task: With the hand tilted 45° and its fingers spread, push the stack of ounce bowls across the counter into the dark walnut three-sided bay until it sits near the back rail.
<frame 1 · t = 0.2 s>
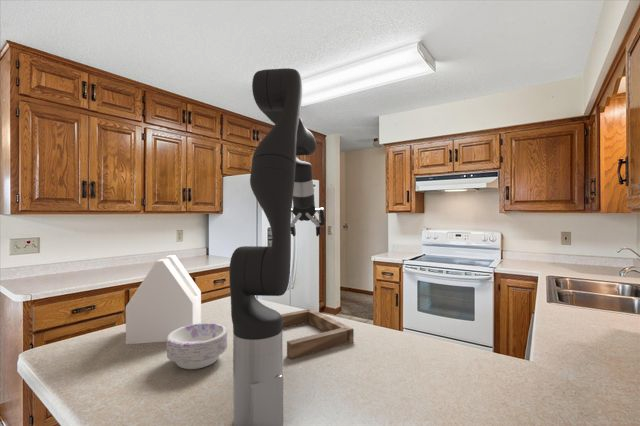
hand: (306, 235, 119), 31 cm above the countertop, tool tilted 20°, fingers open, 8 cm apart
walnut bay: (299, 337, 104), on the countertop
paper bowls: (198, 362, 88), on the countertop
white house shaped block: (166, 333, 109), on the countertop
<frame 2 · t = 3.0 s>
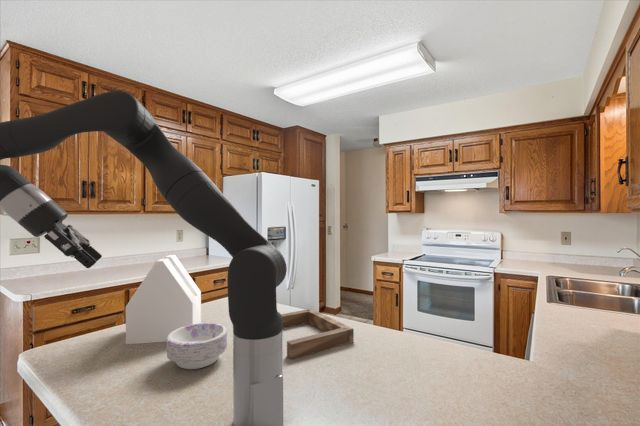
hand: (95, 262, 75), 28 cm above the countertop, tool tilted 40°, fingers open, 8 cm apart
nothing on the countertop moved.
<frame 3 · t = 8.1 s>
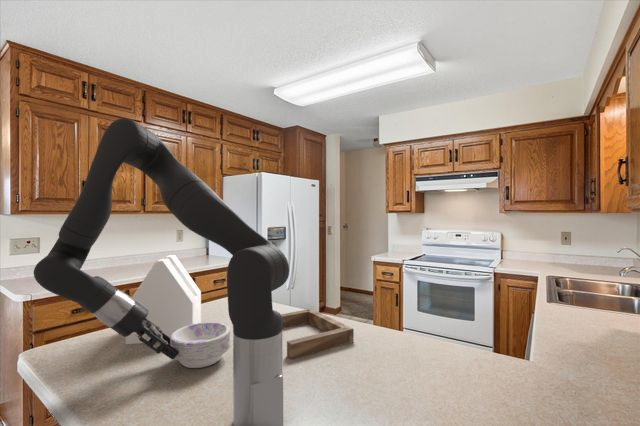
hand: (173, 349, 84), 5 cm above the countertop, tool tilted 45°
paper bowls: (201, 361, 88), on the countertop, touching gripper
everything else where it was.
when the fingers open (4 cm above the countertop, at t = 9.5 s): paper bowls moves 1 cm, on the countertop.
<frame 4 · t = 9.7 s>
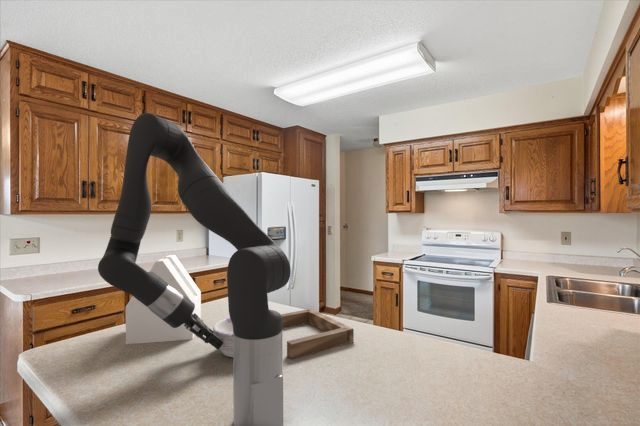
hand: (216, 340, 90), 4 cm above the countertop, tool tilted 45°, fingers open, 8 cm apart
paper bowls: (240, 351, 94), on the countertop, touching gripper
everything else where it was.
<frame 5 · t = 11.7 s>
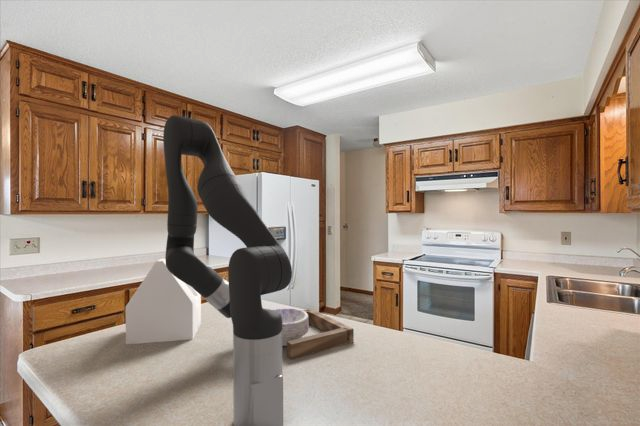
hand: (262, 330, 98), 5 cm above the countertop, tool tilted 45°
paper bowls: (284, 341, 102), on the countertop, touching gripper
everything else where it was.
when the fingers open (5 cm above the countertop, at t = 13.1 s): paper bowls stays where it is, on the countertop.
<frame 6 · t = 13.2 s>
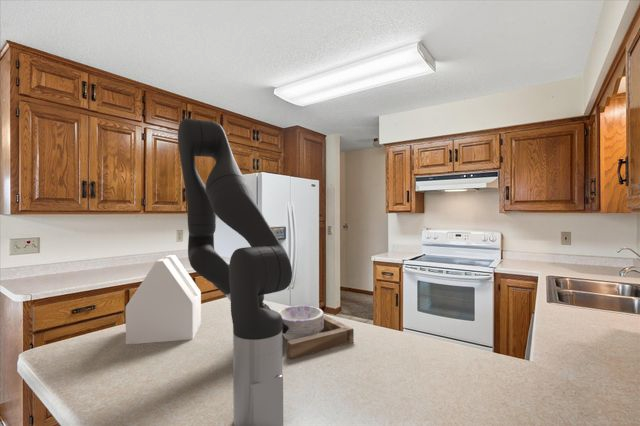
hand: (280, 326, 101), 5 cm above the countertop, tool tilted 45°, fingers open, 8 cm apart
paper bowls: (300, 337, 105), on the countertop, touching gripper
everything else where it was.
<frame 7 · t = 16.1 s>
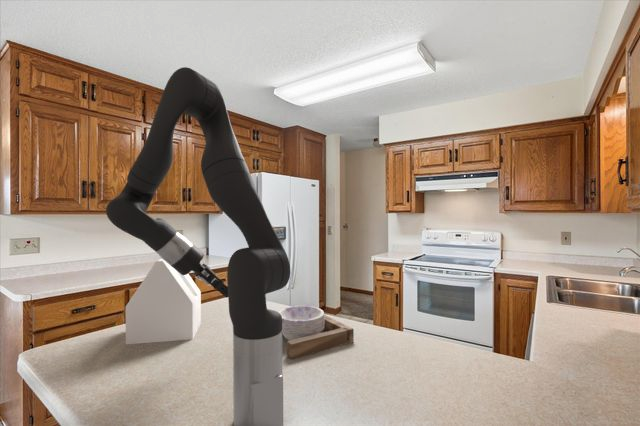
hand: (225, 291, 91), 18 cm above the countertop, tool tilted 45°, fingers open, 8 cm apart
paper bowls: (300, 337, 105), on the countertop
everything else where it was.
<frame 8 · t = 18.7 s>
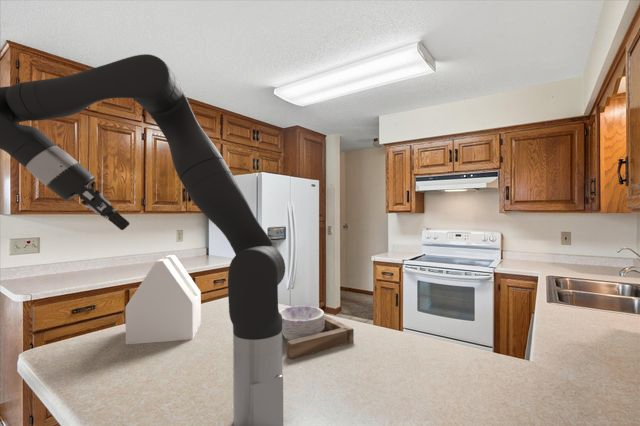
hand: (125, 226, 75), 37 cm above the countertop, tool tilted 45°, fingers open, 8 cm apart
nothing on the countertop moved.
at the end: paper bowls inside the target area (0.1 cm from its centre), on the countertop; paper bowls tilted 0° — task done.
